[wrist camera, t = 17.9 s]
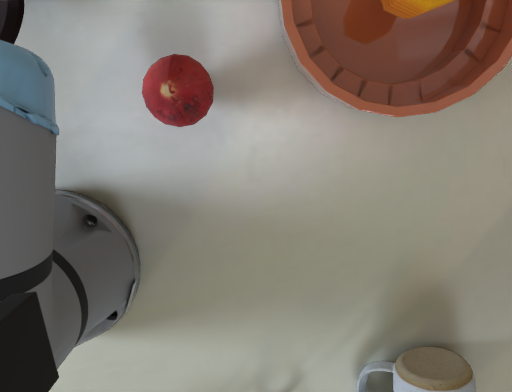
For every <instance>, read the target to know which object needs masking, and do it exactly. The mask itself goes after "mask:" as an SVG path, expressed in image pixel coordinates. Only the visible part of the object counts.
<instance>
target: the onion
mask: <svg viewBox="0 0 512 392" xmlns="http://www.w3.org/2000/svg"><path fill="white" fill-rule="evenodd" d="M142 94H143V97H144V100H145V103H146V107H147V108H148V109H149V110H150V112H151V113H152V114H153V116H154V117H155V118H157V119H158V120H160V121H161V122H163V123H164V124H168V125H173V126H178V127H183V126H188V125H193V124H195V123H196V122H198V121H199V120H200V119H202V118H203V117H204V116H206V114H207V112H208V110H209V108H210V106H211V105H212V103H213V85H212V81H211V78H210V75H209V73H208V72H207V71H206V70H205V68H204V67H203V66H202V65H201V64H200V63H199V62H197V61H196V60H194V59H193V58H191V57H189V56H186V55H178V54H173V55H170V56H166V57H163V58H161V59H159V60H158V61H157V62H156V63H154V64H153V65H152V66H151V67H150V68H149V70H148V72H147V74H146V75H145V77H144V79H143V90H142Z"/></svg>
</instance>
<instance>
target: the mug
mask: <svg viewBox="0 0 512 392" xmlns="http://www.w3.org/2000/svg"><path fill="white" fill-rule="evenodd" d="M23 14H24V0H0V40H2V41H5V42H8V43H11V44H14V43H15V41H16V38H17V36H18V33H19V30H20V27H21V24H22V20H23Z"/></svg>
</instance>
